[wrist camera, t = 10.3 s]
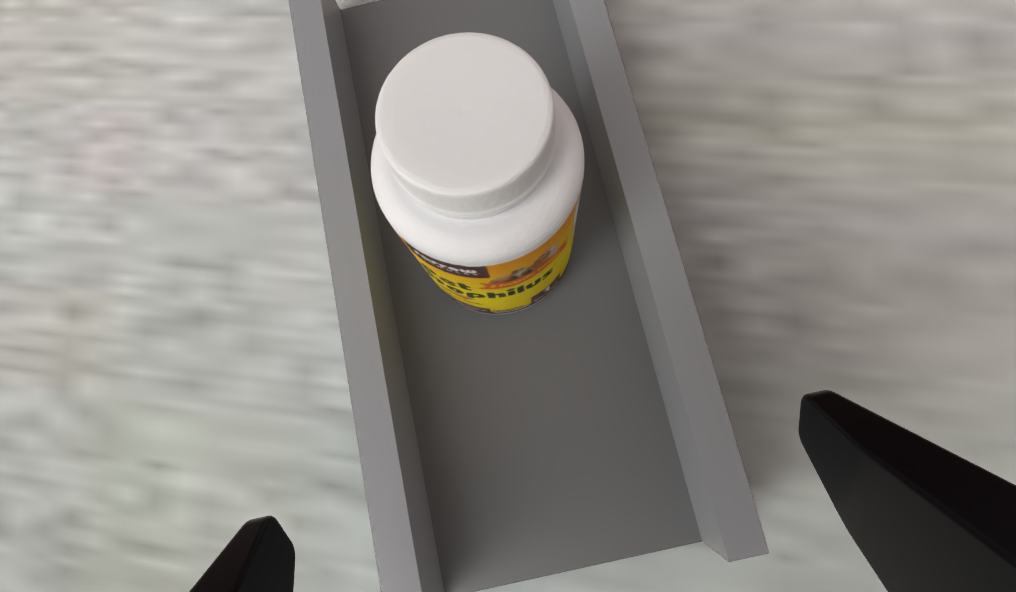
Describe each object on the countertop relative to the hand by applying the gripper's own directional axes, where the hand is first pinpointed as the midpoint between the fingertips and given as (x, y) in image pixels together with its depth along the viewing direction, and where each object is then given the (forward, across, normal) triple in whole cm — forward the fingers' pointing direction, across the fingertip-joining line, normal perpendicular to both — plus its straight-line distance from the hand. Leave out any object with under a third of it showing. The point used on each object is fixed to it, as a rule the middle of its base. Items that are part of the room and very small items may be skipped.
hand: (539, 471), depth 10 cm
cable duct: (+14, 0, +3) cm, 15 cm away
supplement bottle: (+14, 0, +3) cm, 14 cm away
